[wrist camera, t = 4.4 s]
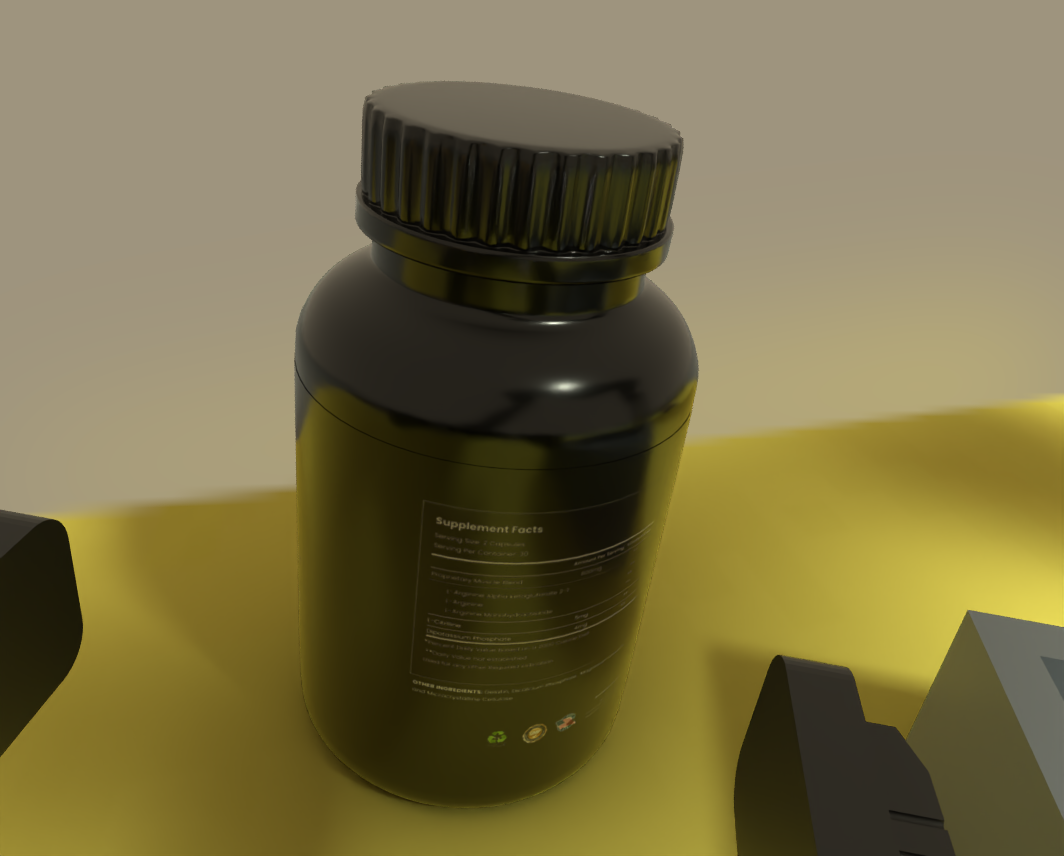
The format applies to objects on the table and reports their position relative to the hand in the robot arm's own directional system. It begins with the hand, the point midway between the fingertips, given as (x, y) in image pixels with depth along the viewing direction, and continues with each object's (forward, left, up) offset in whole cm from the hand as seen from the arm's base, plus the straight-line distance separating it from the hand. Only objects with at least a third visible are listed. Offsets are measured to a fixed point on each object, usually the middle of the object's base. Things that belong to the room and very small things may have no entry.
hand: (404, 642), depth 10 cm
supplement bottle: (0, -6, -7) cm, 10 cm away
